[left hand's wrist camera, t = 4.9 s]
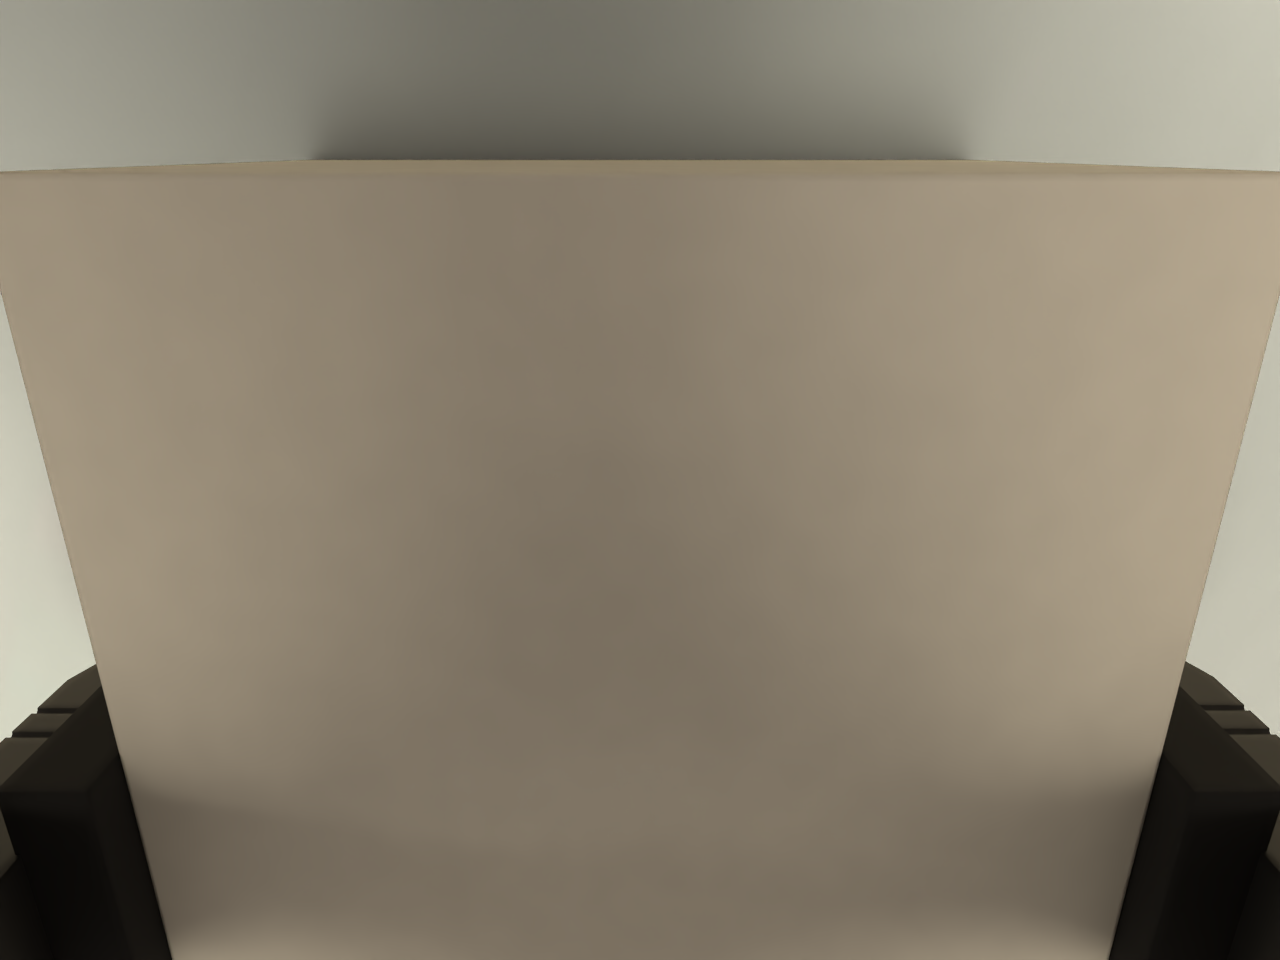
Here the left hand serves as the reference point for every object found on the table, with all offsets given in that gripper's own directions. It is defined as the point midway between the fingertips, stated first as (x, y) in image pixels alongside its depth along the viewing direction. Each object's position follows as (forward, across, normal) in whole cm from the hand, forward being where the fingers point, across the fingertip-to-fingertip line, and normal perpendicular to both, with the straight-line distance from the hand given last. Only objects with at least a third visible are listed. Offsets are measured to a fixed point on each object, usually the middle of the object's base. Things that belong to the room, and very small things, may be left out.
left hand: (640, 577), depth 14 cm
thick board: (+1, 0, -22) cm, 22 cm away
